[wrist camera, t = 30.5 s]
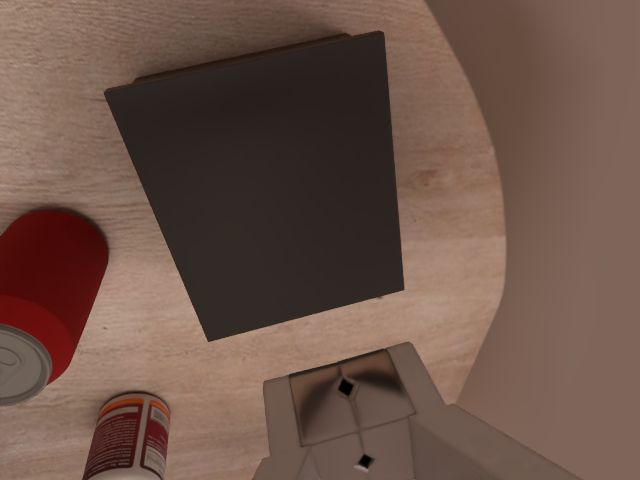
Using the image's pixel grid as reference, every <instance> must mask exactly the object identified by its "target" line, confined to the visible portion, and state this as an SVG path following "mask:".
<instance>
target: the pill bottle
mask: <svg viewBox="0 0 640 480" xmlns="http://www.w3.org/2000/svg"><path fill="white" fill-rule="evenodd" d="M169 424H170V414H169V410H168V408H167V406H166V405H165V404H164V403H163V402H162V401H161V400H160V399H158V398H156V397H154V396H151V395H147V394H139V393H137V394H126V395H122V396H119V397H117V398H114V399H112V400H111V401H109V402H108V403H107V404H106V405H105V406H104V407H103V408H102V410H101V411H100V414H99V416H98V420H97V423H96V428H95V432H94V435H93V439H92V443H91V447H90V451H89V455H88V459H87V463H86V467H85V471H84V475H83V479H82V480H164V476H165V465H166V455H167V444H168V434H169Z"/></svg>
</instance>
